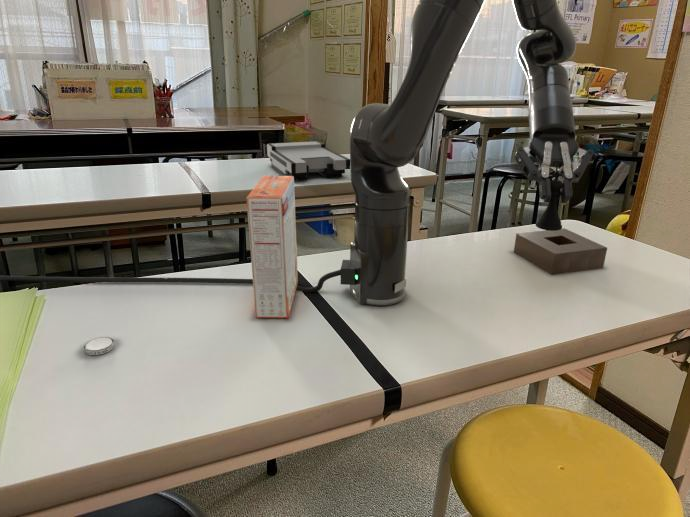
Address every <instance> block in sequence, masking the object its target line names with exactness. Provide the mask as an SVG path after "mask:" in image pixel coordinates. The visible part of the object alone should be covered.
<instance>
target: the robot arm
mask: <svg viewBox="0 0 690 517" xmlns="http://www.w3.org/2000/svg"><path fill="white" fill-rule="evenodd" d="M511 1H512V5H513V8H514V12H515V15H516V20H517V22H518V25H519V26H520V28H521V29H522V30H525V31H534V32H532V33H531V32H530V33H528V34H526V35H524V36H523V37H522V38H521V39H520V41H519V42H518V44H517V47H516V54H517V55H516V56H517V59H518V62H519V64H520V66H521V67H522V70H523V71H524V74H525V76H526V80H527V85H528V98H529V101H528V115H527V120H528V128H529V144H528V145H527V146H525V147H523V146H518V147H517V148H516V151H515V153H514V156H513V159H514V160H515V162H516V163H517V165H518V166H519V168H520V169H521V171H522V172H523V175H524V176H525V177H526V179H527V181H529V182H533V181H534V182H537V183H538V190H539V198H540V200H543V201H542V202H543V203H547V204H548V202H549V201H550V199H551V184H550V181H551V178H549V176H550V168H556V172H557V171H559V173H560V174H562V176H559V180H560V181H561V182H562V184H563V186H562V188H561V190H560V192H561V196H560V201H561V204H567V203H568V202H569V201H570V200H571V198H572V197H573V195H574V190H573V183H575V184H577V183H578V182H579V181H580V179H581V177H582V176H583V175H584V173H585V171H586V169H587V168H588V165H589V164H590V162H591V160H592V158H593V157H594V154H595V150H594V149H593V148H588V149H587V150H586V149H584V148H581V147H580V145H579V143H578V142H577V139H576V129H575V118H574V108H573V107H574V106H573V101H572V97H571V93H570V79H569V73H568V70H567V68H566V67H565V66H564V65H562V64H564V63H566V62H568V61H570V60H571V59H572V58H573V57H574V55H575V53H576V50H577V39H576V36H575V33H574V31H573V29H572V28H571V26H570V25H569V23H568V22H567V21H566V18H564V16H563V14H562V12H561V9H560V7H559V4H558V1H557V0H511ZM485 2H486V0H419V1H418V3H417V5H416V8H415V10H414V13H413V16H412V18H411V24H410V32H409V33H410V34H409V37H410V38H409V60H408V66H407V69H406V73H405V74H404V78H403V81H402V82H401V84H400V86H399V89H398V91H397V93H396V95H395V97H394V99H393V100H392V102H391V103H390V104H388V103H380V102H373V103H372V102H371V103H368V104H366V105H364V106H362V107H361V108H360V109H359V110H358V111H357V113H356V114H355V116H354V118H353V120H352V123H351V127H350V134H349V159H350V169H349V171H350V183H351V187H352V189H353V191H354V238H353V241H352V242H350V244H349V245H350V247H349V251H350V252H349V259H342V261H341V266H340V269H338V270H334V271H331V272H328V273H325V274H324V275H322V276H321V277H320V278H319V280H318V282H317V285H315V286H312V287H304V286H299V285H297V288H296V291H299V292H304V293H316V292H319V291H320V290H321V289H322V288H323V285H324V284H325V282H326V281H327V280H330V279H332V278H335V277H338V276H339V277H340V285H345V286H349V292H350V293H351V294H352V296H353V297H354V299H355V300H356V301H357V302H358V304H359V305H371V306H381V307H382V306H390V305H395V304H397V303H400V302H402V301H403V300H404V298H405V296H406V295H405V294H406V293H405V292H406V289H405V288H406V287H407V278H406V270H407V268H406V267H407V266H406V265H407V255H408V254H407V252H408V237H409V236H408V235H409V221H410V220H409V219H410V205H411V204H410V203H411V189H410V187H409V185H408V184H407V183H406V182H405V181H404V179H403V178H402V176H401V174H400V171H399V168H401V167H404V166H406V165H408V164H409V163H411V162H412V161H413V160H414V159H415V158H416V157H417V156H418V154H419V152H420V150H421V149H422V147H423V145H424V142H425V140H426V138H427V135H428V133H429V131H430V128H431V125H432V123H433V122H432V121H433V119H434V117H435V114H436V110H437V107H438V105H439V103H440V100H441V97H442V94H443V92H444V89H445V87H446V85H447V82H448V80H449V78H450V76H451V74H452V72H453V69H454V67H455V65H456V63H457V60H458V59H459V56H460V53H461V52H462V49H463V48H464V46H465V43H466V42H467V40H468V38H469V36H470V34H471V32H472V30H473V28H474V26H475V23H476V22H477V20H478V18H479V15H480V13H481V11H482V9H483V6H484V4H485ZM575 156H576V157H577V158H576V160H577V163H579V164H578V166H577V167H576V170H575V171H572V159H573V158H574V157H575ZM530 157H532V158H533V159H534V160H535V161H536V163H537V164H538V168H537V166H536V165H535V164H534V161H533V160H532V159H531V158H530ZM0 281H6V282H7V281H8V282H36V283H37V282H38V283H39V282H41V283H45V282H46V283H49V282H50V283H164V284H165V283H167V284H168V283H169V284H171V283H177V284H178V283H179V284H180V283H182V284H183V283H184V284H185V283H187V284H191V283H192V284H235V285H236V284H237V285H253V278H228V277H227V278H226V277H225V278H223V277H222V278H221V277H121V276H120V277H111V276H107V277H106V276H105V277H102V276H101V277H99V276H98V277H95V276H94V277H93V276H92V277H91V276H90V277H89V276H88V277H87V276H86V277H85V276H84V277H83V276H82V277H81V276H76V277H75V276H29V275H28V276H27V275H26V276H25V275H23V276H22V275H0Z"/></svg>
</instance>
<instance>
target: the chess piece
mask: <svg viewBox="0 0 690 517" xmlns="http://www.w3.org/2000/svg"><path fill="white" fill-rule="evenodd" d="M551 175H552V176H554V179H550V184H551V199H550V201H549V202H548V203H547V206H546V208H545V210H543V212H542V214H541V216H539V218H538V219H537V221H536V222H535V227H536V228H538V229H540V230H542V231H545V230H549V231H557V230H561V229H563V225H562V220H561V219H560V216H559V212H558V209H557V203H558V200H559V198H561V191H560V190H561V188H562V186H563V184H562V182H561V180H560V179H559V178H560V176H562V174H560V173H559V171H557V170H556V172H553V173H551Z"/></svg>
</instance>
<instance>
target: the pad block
mask: <svg viewBox="0 0 690 517" xmlns="http://www.w3.org/2000/svg"><path fill="white" fill-rule="evenodd" d="M607 251H608V247H607V246H605V245H602V244H600V243H598V242H596V241H593V240H592V239H589V238H586V237H584V236H582V235H580V234H578V233H575V232H573V231H571V230H569V229H567V228H565V227H564V228H562V229H561V230H557V231H549V230H537V231H528V232H527V231H526V232H518V233H517V232H516V233H515V239H514V247H513V254H515V255H516V256H518V257H521V258H522V259H524V260H526V261H527V262H529V263H531V264H532V265H534V266H536V267H537V268H539V269H541V270H543V271H544V272H546V273H548V274H549V275H551V276H552V275H560V274H562V275H563V274H568V273H576V272H583V271H590V270H597V269H603V268H604V265H605V261H606V257H607Z"/></svg>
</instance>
